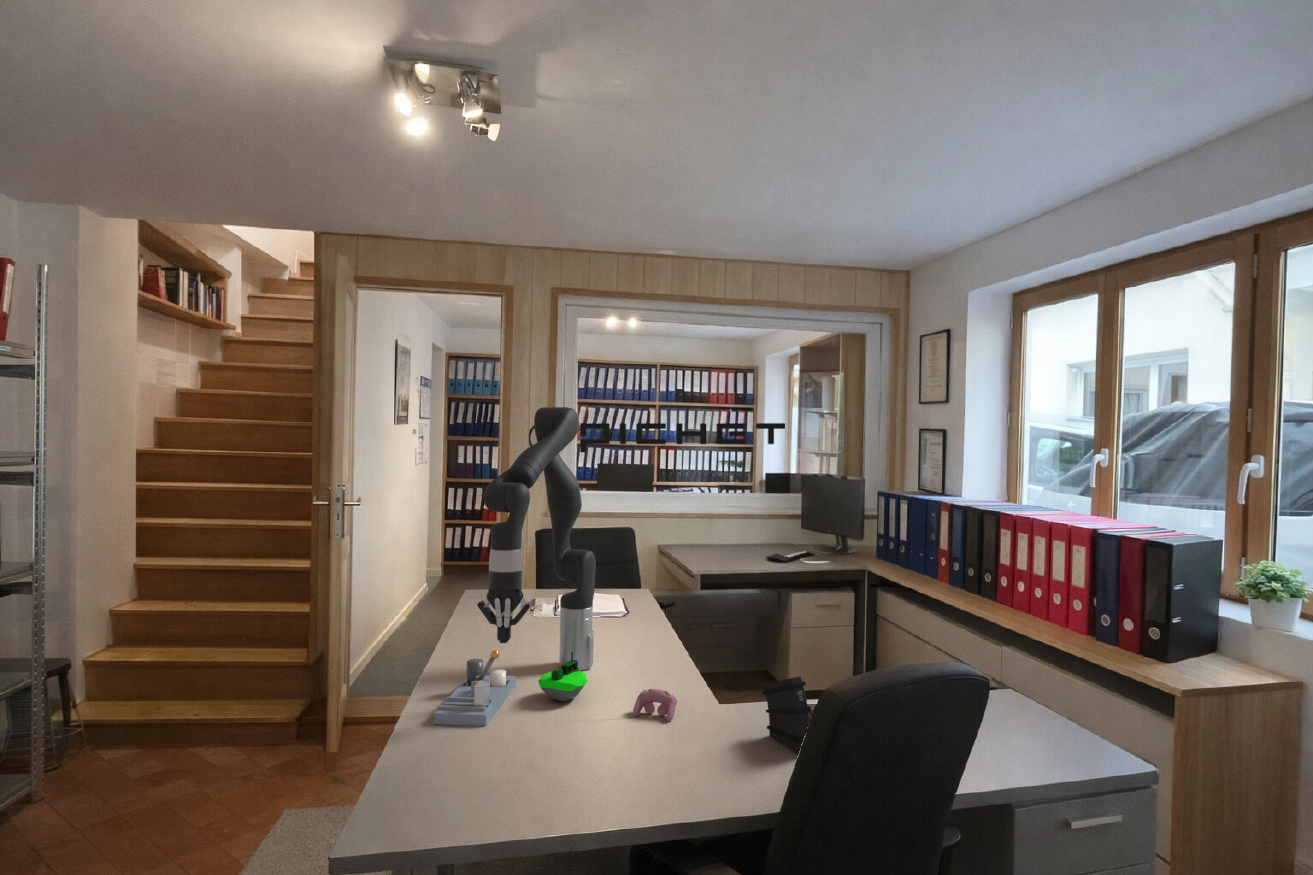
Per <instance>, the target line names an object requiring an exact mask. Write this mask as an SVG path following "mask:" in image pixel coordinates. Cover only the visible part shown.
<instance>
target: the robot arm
mask: <svg viewBox="0 0 1313 875" xmlns="http://www.w3.org/2000/svg"><path fill="white" fill-rule="evenodd" d="M533 424H534V426H533V428H534V433H535V437H536V442H535V443H534V444H532V445H530V446H529V447H526V449H525V450H523V451H522V452H521V453H520V454H519V455H518V456H517V457H516V459H515V460H514V462H513V463H512V464H511V466H510V467H509V468H508V469H507V470H505V471H503V472H502V473H501V474H499V475H498V476H497V477H495V478H494V479H493V480H492V481H491V482H489V484H488V485H487V487H486V488H485V490H484V492H483V493H484V494H483V502H484V505H485V507H486V509H488V510H489V511H491V512H495V513H509V514H508V516H507V519H506V521H502V522H501V521H500V522H496V523H494V524H493V525H492V526H491V530H490V551H489V552H490V553H489V561H488V562H489V563H488V591H487V592H486V597H485V598H484V599H482V600H480V601H479V602H478V603H477V604H476V606H477V608H478V609H479V610H480V611H481V614H483V615H484V617H485V618H486V619H487V621H488V623H489V624H490V625H495V626H496V628H497V629H496V630H497V633H496V634H497V635H496V639H497V641H498V642H499V644H508V642H509V641H510V640H511V637H512V626H516V625H517V624H518V623H519V622H520V621H521V620H522V619H523V617H524V616H525V614H526V613H527V612H528V611H529V610H530V609H531V608H532V606H533V604H532V601H528V600H527V599H526V598H524V593H523V590H522V586H523V578H522V577H523V554H522V532H523V528H524V525H525V524H524V523H525V519H526V516H527V513H528V509H529V506H530V502H531V494H530V489H531V488H532V487H533V486H535V484H536V482H537V481H538V479H539V477H540V476H541V475H542V472H543V476H544V481H545V489H546V490H545V491H546V499H547V505H548V511H549V516H550V523H551V532H552V541H553V542H552V544H553V545H552V547H553V561H554V564H553V565H554V570H555V574H556V577H557V578H558V579H559V580H560V581H562V582H563V581H564V582H570V583H571V582H572V583H577V587H576V589H575V590H574V591H570V592H566V593H565V594H562V595H561V596H560V601H559V602H560V604H559V606H560V608H559V610H560V611H559V659H558V660H559V666H558V667H559V669H561V665H562V664H564V663H566V662H568V661H570V660H571V652H573V660H577V661H578V667H579V668H580V669H579V671H583V670H584V671H585V670H591V668H592V666H593V665H594V639H595V638H594V636H595V634H594V632H595V631H594V630H593V618H594V617H593V615H594V612H593V610H594V604H593V603H594V596H595V584H596V572H597V571H596V567H597V561H596V560H597V559H596V556H595V554H594V552H593V551H591V550H589V549H577V548H575V549H574V548H572V547H571V542H570V536H571V535H570V534H571V532H572V529H573V526H574V524H575V523H576V521H577V519H578V517H579V516H580V513H581V511H582V507H583V506H582V496H581V489H580V484H579V481H578V479H577V478H576V476H575V474H573V472H572V470H571V469H570V468H569V466H568V465H567V464H566V463H565V461H564V460H563V459H562V457H561V454H560V453H561V452H562V451H563V450H564V449H565V448H566V447H567V446H568V445H569V444H570V443H571V442H572V441H573V440H574V439H575V438H576V436H577V435H578V432H579V429H580V419H579V415H578V413H577V410H575V409H573V408H572V407H567V406H566V407H565V406H562V407H561V406H549V407H547V406H546V407H540V408H538V409H537V410H536V412H535V413H534V422H533ZM490 605H491V607H492V609H493V610H494V611H495V613H494V612H493V610H492V609H491V607H490ZM519 605H520V606H519ZM518 606H519V608H520V609H519V612H518V613H517V614H516V615H515V617H514V618H513V616H514V611H515V610H516V609H517V607H518Z"/></svg>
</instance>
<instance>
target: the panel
mask: <svg viewBox="0 0 1313 875" xmlns="http://www.w3.org/2000/svg"><path fill="white" fill-rule="evenodd" d="M478 677H479V676H476V680H477V679H478ZM516 679H517V678H516V675H506V687H490V702H489V703H488V705H487V706H486V707H476V706H474V686H475V685H476V684H477V683H478V682H479V681H471V684H468V683H467V678H466V679H465V680H463V682H462V683H460V685H459V686H458V687H457V688H456V689H455V690H454V691H453V692H452V694H451V695H450V696H446V697H445V701H444V702H443V703H441V704H439V705H437V709H436V711H434V713H433V725H442V726H443V725H444V726H445V725H449V726H468V725H469V727H470V726H471V727H472V726H473V727H487V725H488V724H489V722H490V721H491V720H492V718H494V715H495V714H496V713H497V711H499V709H500V707H501V706H502V705H503V704H504V702H505V701H506V699H507V698H508V696H509V695H510V694H511V692H512V691H513V690H512V689H514V688H516V681H517V680H516ZM483 681H490V674H486V675H485V677H484V678H483Z"/></svg>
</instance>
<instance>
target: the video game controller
mask: <svg viewBox="0 0 1313 875" xmlns="http://www.w3.org/2000/svg"><path fill="white" fill-rule="evenodd" d="M654 703H659V706H658V707H657V710H656V707H655V705H654ZM677 703H678V700H677V698H676V696H675V695H673V694H672V693H671V692H668V691H666V690H664V689H659V688H650V689H644V690H642V691H641V692H640V693H639V694H638V696H637V698H636V701H635V703H634V707H633V710H632V711H633V712H632V714H633V715H632V716H633V717H635V718H636V717H639V714H641V712H642V710H643V708H644V711H645V713H646V714H649V715H651V714H654V713H655V710H656V711H657V714H658V715H659V716H661V717H665V716H666V720H667V722H668V723H670V722H671V721H672V720H673V719H674V716H675V712H676V707H677Z"/></svg>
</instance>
